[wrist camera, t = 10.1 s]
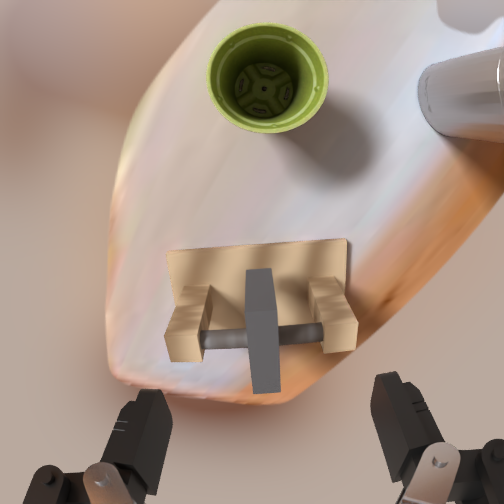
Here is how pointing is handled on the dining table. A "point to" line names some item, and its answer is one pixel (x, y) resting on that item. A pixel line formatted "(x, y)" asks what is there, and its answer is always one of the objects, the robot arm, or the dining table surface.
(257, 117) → the plant pot
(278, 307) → the bar rack
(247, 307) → the rubber u
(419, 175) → the dining table surface
